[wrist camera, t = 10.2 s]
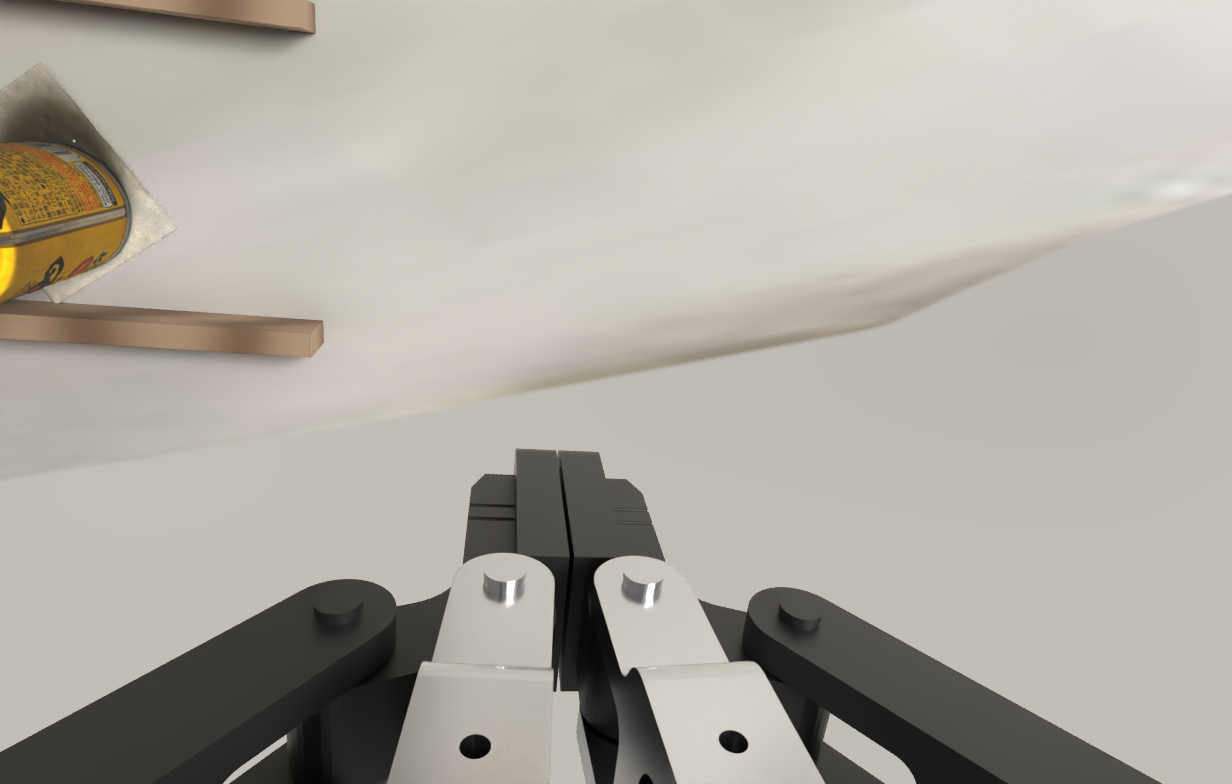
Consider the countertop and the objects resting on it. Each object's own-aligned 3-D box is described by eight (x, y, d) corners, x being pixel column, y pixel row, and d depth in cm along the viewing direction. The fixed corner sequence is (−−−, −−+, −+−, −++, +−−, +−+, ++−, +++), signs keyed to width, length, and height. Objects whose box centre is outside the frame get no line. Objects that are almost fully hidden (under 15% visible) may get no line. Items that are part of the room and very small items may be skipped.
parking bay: (314, 4, 34) (289, -10, 30) (323, 342, 39) (303, 367, 35) (-212, -66, 30) (-313, -91, 27) (-123, 314, 36) (-197, 337, 32)
